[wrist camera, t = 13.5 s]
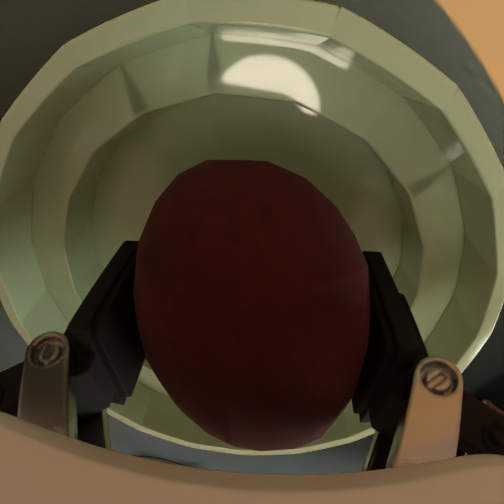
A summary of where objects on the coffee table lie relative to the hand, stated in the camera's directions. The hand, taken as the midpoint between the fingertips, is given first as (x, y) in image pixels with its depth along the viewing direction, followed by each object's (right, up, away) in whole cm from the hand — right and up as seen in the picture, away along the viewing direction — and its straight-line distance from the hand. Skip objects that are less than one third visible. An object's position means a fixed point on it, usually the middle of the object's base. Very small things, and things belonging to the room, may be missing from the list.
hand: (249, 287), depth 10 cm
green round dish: (0, +1, +3) cm, 3 cm away
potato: (-3, -2, -2) cm, 4 cm away
